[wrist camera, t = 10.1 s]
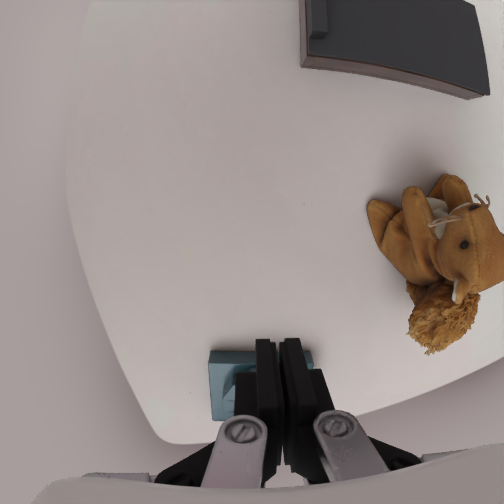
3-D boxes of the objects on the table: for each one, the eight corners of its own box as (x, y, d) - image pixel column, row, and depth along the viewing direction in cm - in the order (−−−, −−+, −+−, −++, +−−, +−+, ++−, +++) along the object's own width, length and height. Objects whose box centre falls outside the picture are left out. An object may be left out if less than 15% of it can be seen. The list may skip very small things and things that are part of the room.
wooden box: (300, 67, 24) (306, 56, 21) (297, -23, 21) (302, -39, 18) (467, 100, 24) (484, 96, 21) (455, 16, 21) (469, 7, 18)
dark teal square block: (214, 408, 33) (210, 432, 29) (210, 350, 31) (205, 373, 27) (302, 407, 33) (307, 431, 29) (310, 350, 31) (317, 373, 27)
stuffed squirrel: (447, 166, 26) (545, 175, 13) (455, 296, 30) (530, 353, 17) (360, 182, 27) (442, 196, 14) (378, 322, 30) (437, 403, 17)
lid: (307, 55, 21) (313, 45, 18) (303, -41, 18) (306, -54, 16) (486, 95, 21) (500, 92, 19) (471, 7, 18) (482, 0, 16)
